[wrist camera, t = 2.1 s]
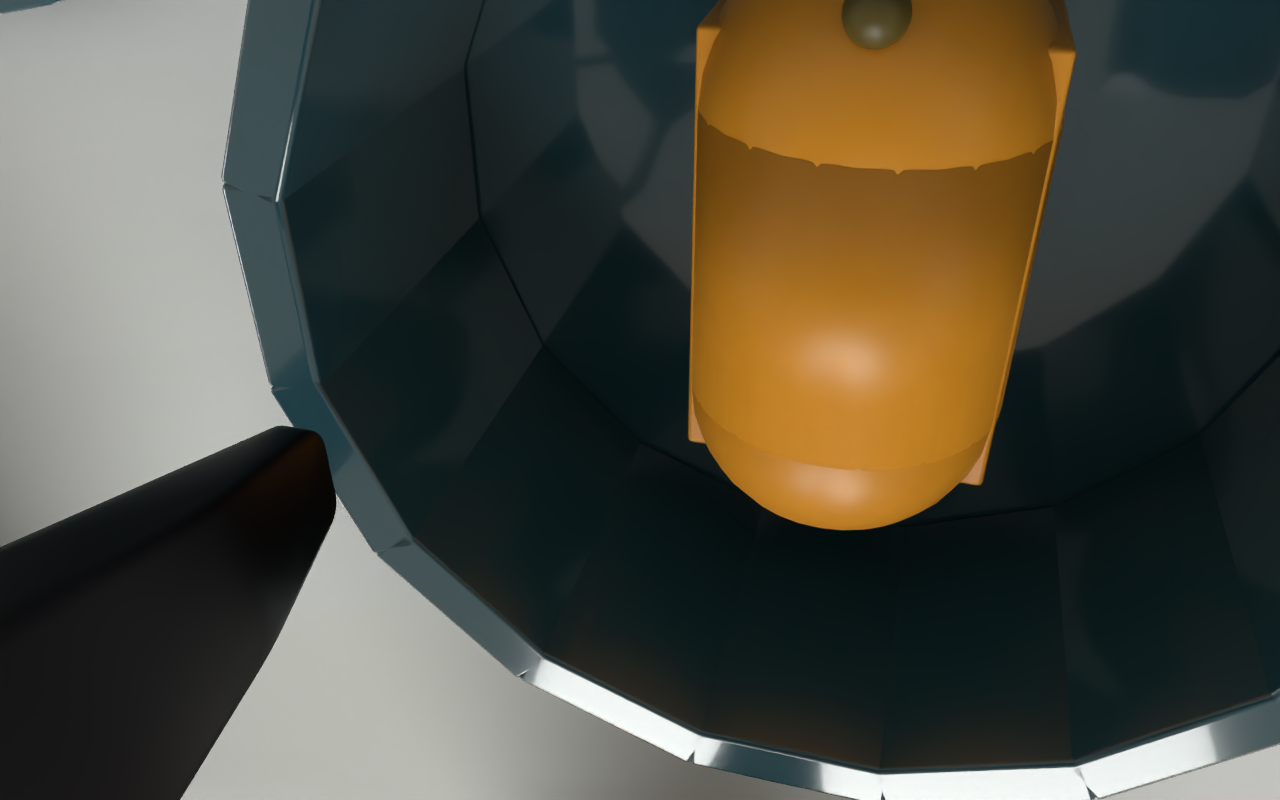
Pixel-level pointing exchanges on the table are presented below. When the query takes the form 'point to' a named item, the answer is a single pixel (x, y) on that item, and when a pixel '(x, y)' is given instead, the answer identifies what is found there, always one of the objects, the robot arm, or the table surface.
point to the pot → (686, 471)
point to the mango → (865, 241)
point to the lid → (23, 5)
